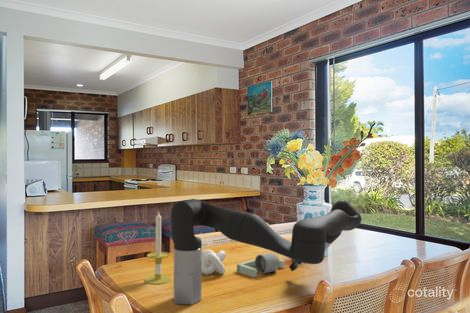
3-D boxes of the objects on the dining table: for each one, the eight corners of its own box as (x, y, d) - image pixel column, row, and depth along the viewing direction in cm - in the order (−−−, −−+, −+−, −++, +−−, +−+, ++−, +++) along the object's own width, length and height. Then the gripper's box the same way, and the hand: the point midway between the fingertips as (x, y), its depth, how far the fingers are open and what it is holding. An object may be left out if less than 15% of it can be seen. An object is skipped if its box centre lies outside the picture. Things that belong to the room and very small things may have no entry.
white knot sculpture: (233, 275, 147) (233, 252, 147) (206, 279, 141) (207, 256, 141) (220, 267, 157) (220, 246, 157) (195, 271, 151) (195, 250, 151)
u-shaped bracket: (284, 267, 157) (284, 260, 157) (254, 277, 144) (254, 269, 144) (267, 262, 164) (267, 256, 164) (236, 271, 151) (236, 264, 151)
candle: (154, 274, 147) (154, 207, 147) (176, 277, 143) (176, 209, 143) (139, 282, 137) (139, 211, 137) (162, 286, 134) (162, 212, 134)
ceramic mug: (281, 272, 150) (280, 253, 151) (266, 276, 146) (266, 256, 146) (264, 266, 159) (264, 248, 159) (249, 269, 154) (249, 251, 154)
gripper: (313, 254, 128) (286, 281, 136) (333, 248, 137) (307, 273, 145) (301, 237, 131) (275, 263, 140) (321, 232, 141) (296, 257, 149)
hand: (291, 268), depth 143 cm, fingers closed
